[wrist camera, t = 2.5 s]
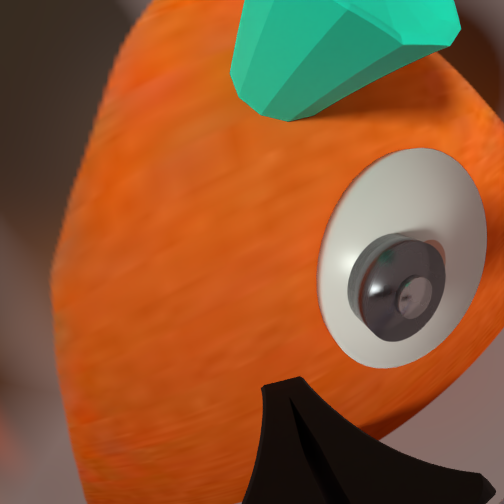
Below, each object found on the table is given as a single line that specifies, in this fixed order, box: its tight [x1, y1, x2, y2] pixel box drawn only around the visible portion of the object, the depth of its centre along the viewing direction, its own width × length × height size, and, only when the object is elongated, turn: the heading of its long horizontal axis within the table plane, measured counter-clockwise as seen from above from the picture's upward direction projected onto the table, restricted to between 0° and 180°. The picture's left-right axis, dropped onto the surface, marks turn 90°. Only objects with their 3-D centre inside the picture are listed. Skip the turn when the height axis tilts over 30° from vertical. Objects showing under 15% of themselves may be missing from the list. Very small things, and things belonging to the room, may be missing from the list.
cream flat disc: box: [316, 148, 487, 368], centre depth 17 cm, size 16×16×1 cm
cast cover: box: [347, 234, 446, 342], centre depth 14 cm, size 6×6×3 cm
